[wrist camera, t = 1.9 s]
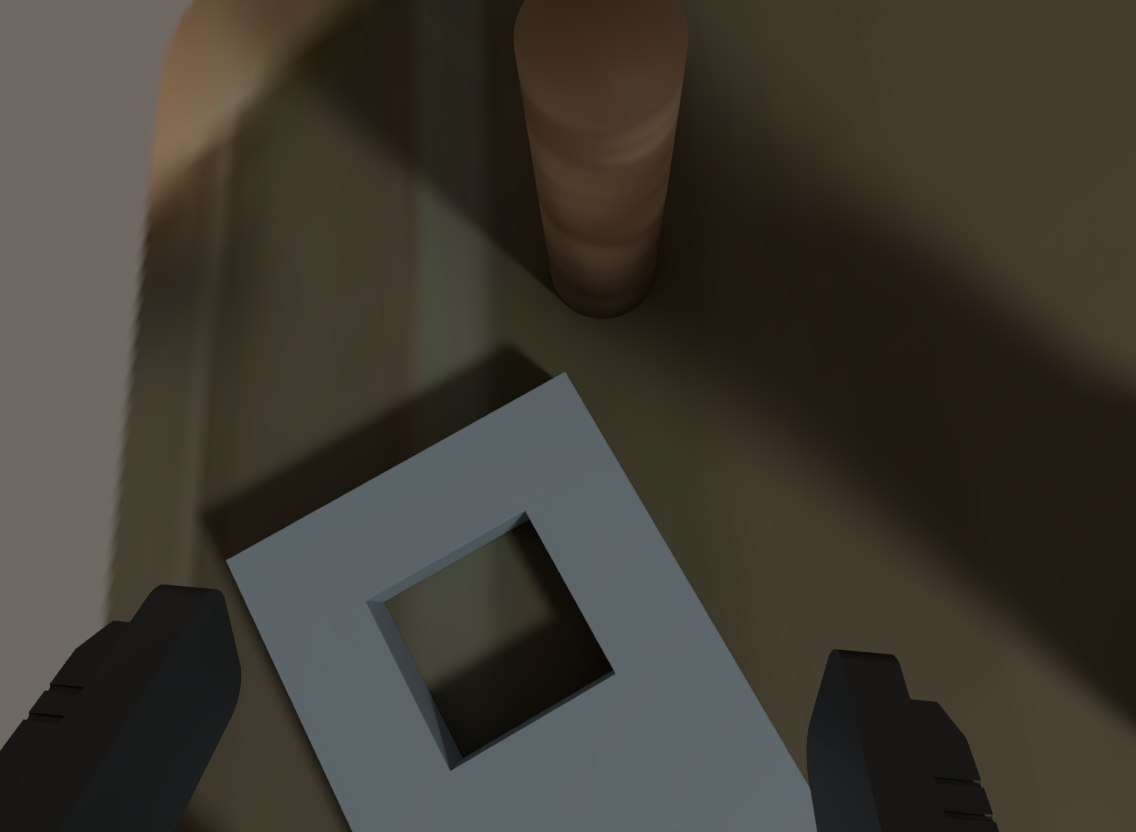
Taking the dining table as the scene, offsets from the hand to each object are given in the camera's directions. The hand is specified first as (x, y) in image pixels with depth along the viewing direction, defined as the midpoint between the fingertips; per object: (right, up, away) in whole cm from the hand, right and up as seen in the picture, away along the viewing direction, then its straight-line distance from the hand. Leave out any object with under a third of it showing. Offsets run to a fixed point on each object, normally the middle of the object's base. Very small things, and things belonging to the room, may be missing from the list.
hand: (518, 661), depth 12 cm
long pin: (+2, +9, +22) cm, 24 cm away
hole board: (0, -7, +18) cm, 20 cm away
